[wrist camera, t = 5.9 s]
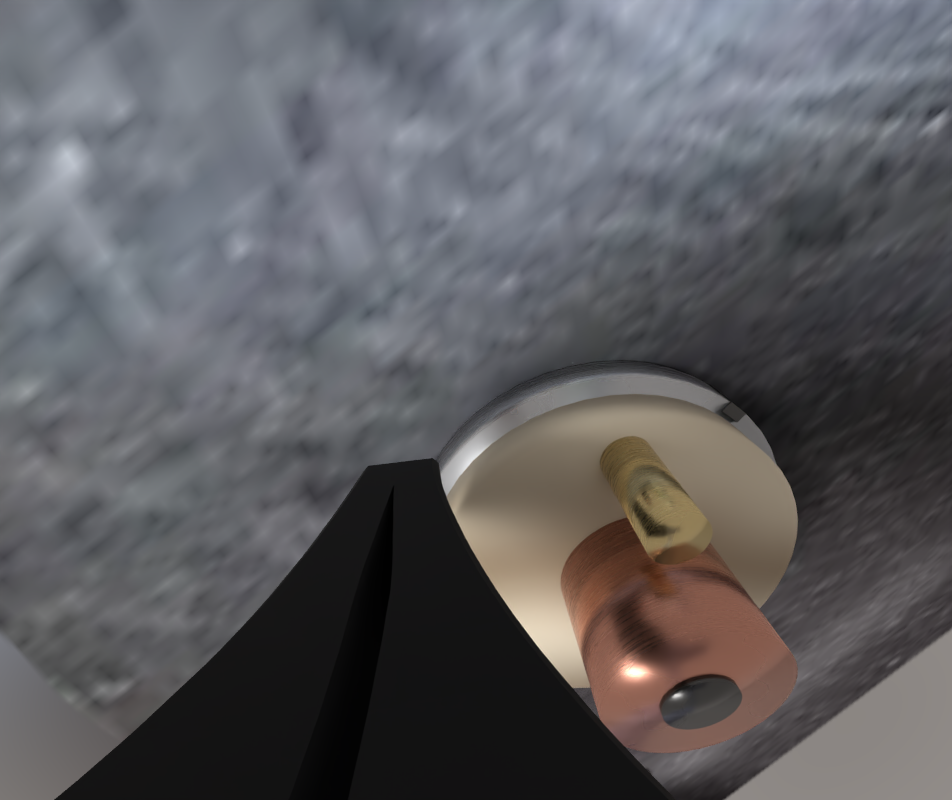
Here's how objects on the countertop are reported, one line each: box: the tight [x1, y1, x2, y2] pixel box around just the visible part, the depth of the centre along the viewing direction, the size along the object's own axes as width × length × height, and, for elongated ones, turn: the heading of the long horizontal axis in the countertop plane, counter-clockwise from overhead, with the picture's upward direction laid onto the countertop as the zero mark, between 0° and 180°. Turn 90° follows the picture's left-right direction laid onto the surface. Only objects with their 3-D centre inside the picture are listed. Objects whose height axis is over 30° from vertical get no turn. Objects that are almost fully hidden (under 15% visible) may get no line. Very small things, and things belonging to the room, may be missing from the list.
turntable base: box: [436, 361, 776, 497], centre depth 14 cm, size 10×10×1 cm
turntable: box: [447, 394, 798, 688], centre depth 12 cm, size 10×10×4 cm
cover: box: [560, 517, 798, 753], centre depth 11 cm, size 4×4×3 cm
